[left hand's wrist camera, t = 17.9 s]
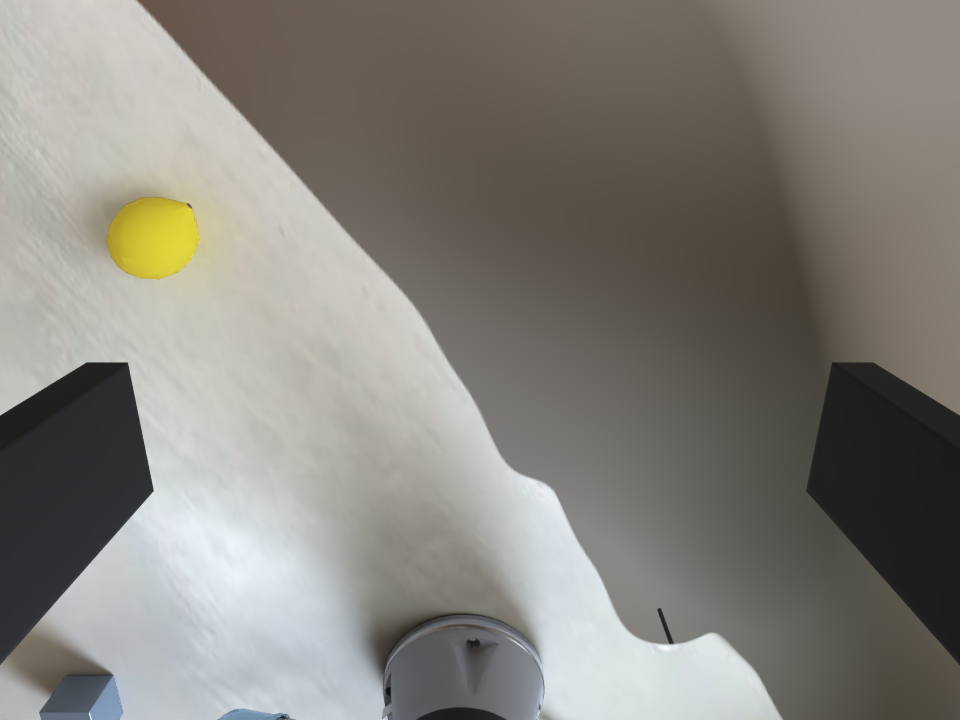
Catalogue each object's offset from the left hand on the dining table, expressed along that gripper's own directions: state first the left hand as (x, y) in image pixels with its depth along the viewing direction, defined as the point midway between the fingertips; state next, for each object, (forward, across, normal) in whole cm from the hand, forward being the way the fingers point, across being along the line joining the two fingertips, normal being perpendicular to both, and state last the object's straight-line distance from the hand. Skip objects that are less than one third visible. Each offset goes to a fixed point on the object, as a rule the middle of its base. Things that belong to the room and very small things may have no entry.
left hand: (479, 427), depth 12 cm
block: (+37, +38, +47) cm, 71 cm away
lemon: (+37, +23, +2) cm, 44 cm away
